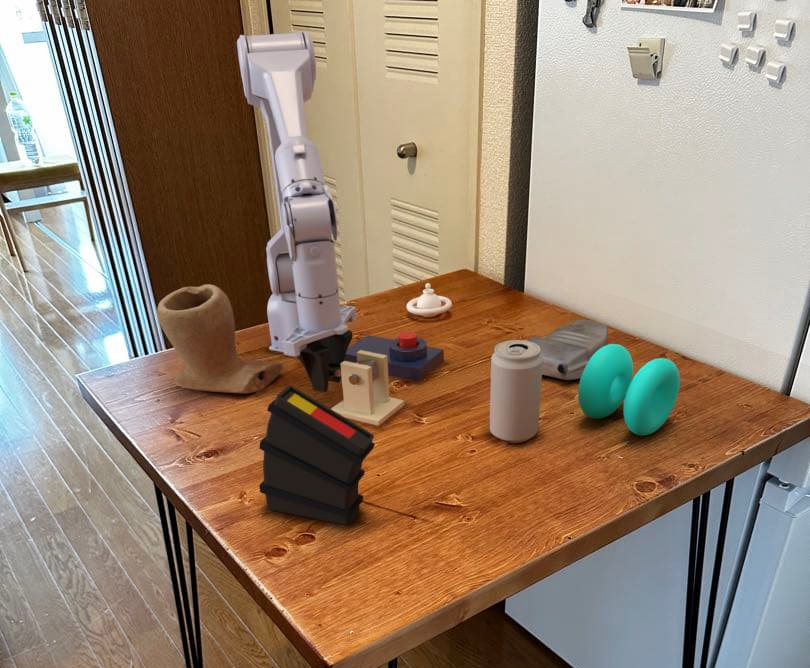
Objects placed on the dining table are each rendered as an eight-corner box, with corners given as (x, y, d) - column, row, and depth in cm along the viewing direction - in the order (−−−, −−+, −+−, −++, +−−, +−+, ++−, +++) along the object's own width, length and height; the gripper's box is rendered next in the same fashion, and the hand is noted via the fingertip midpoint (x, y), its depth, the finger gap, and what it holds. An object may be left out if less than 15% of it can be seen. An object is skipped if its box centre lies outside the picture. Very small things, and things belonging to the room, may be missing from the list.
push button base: (341, 366, 126) (338, 342, 123) (368, 348, 131) (366, 324, 129) (418, 383, 120) (417, 358, 117) (443, 363, 125) (443, 338, 123)
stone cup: (158, 398, 119) (134, 299, 110) (201, 365, 128) (182, 271, 119) (248, 411, 115) (230, 308, 106) (286, 376, 123) (273, 279, 115)
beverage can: (542, 425, 108) (548, 340, 101) (532, 448, 103) (537, 360, 96) (495, 419, 109) (498, 335, 102) (484, 442, 105) (485, 355, 98)
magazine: (254, 478, 96) (288, 381, 86) (348, 535, 96) (393, 444, 86) (238, 495, 94) (271, 396, 84) (334, 553, 93) (379, 461, 83)
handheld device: (626, 342, 129) (629, 314, 126) (572, 390, 116) (575, 360, 113) (571, 330, 134) (573, 303, 131) (513, 376, 121) (515, 347, 118)
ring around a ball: (443, 324, 138) (458, 308, 144) (442, 292, 134) (457, 277, 140) (400, 322, 140) (416, 306, 146) (398, 289, 137) (414, 275, 143)
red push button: (395, 347, 122) (394, 336, 121) (404, 341, 124) (404, 330, 123) (411, 351, 121) (411, 339, 119) (420, 344, 122) (420, 333, 121)
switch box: (330, 415, 112) (324, 363, 108) (357, 395, 117) (353, 345, 113) (378, 427, 109) (375, 374, 104) (404, 406, 114) (402, 354, 109)
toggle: (313, 384, 114) (308, 366, 112) (325, 377, 116) (320, 358, 114) (370, 385, 109) (365, 365, 107) (380, 377, 110) (376, 357, 109)
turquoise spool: (613, 399, 113) (621, 331, 107) (677, 422, 107) (689, 351, 101) (570, 425, 107) (577, 355, 101) (635, 450, 101) (646, 377, 96)
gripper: (309, 313, 100) (320, 412, 108) (371, 278, 110) (377, 371, 118) (264, 305, 103) (278, 401, 111) (329, 272, 113) (338, 362, 121)
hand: (327, 385), depth 114 cm, fingers closed on toggle, 3 cm apart
